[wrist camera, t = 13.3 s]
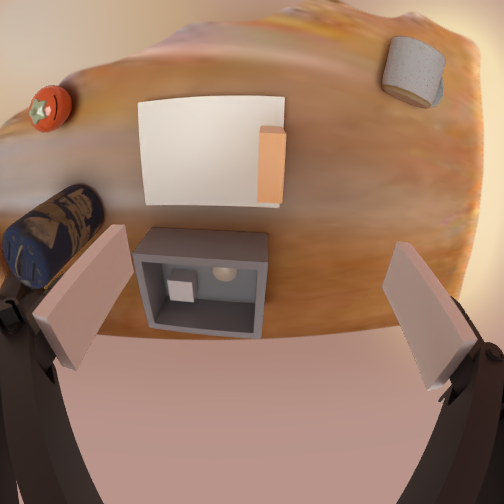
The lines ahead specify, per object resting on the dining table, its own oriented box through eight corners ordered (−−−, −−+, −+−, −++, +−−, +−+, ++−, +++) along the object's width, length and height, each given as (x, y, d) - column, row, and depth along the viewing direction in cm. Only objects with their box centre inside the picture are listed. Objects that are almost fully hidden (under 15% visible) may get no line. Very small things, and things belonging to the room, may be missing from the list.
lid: (152, 198, 40) (119, 232, 30) (145, 102, 32) (104, 106, 23) (278, 200, 39) (282, 237, 30) (283, 97, 32) (290, 95, 22)
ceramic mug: (371, 89, 30) (396, 89, 23) (382, 39, 26) (408, 30, 19) (431, 118, 31) (462, 125, 24) (442, 71, 27) (473, 72, 20)
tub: (162, 296, 49) (149, 327, 42) (152, 227, 42) (132, 253, 35) (261, 305, 49) (260, 338, 42) (268, 233, 42) (268, 262, 35)
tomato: (80, 125, 34) (48, 135, 27) (48, 130, 34) (16, 140, 27) (81, 80, 30) (48, 82, 23) (48, 88, 30) (15, 93, 23)
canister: (115, 210, 41) (50, 274, 25) (89, 243, 44) (33, 308, 29) (78, 170, 37) (1, 217, 22) (56, 207, 41) (-10, 260, 25)
